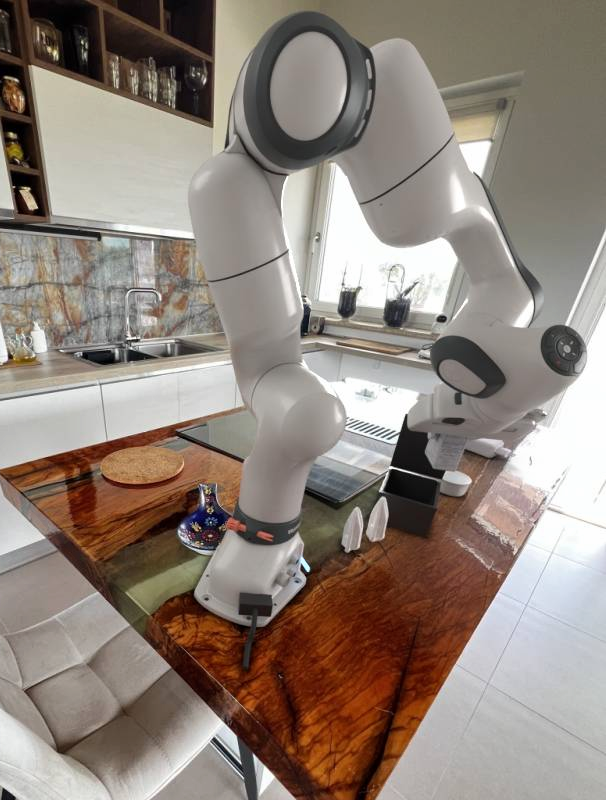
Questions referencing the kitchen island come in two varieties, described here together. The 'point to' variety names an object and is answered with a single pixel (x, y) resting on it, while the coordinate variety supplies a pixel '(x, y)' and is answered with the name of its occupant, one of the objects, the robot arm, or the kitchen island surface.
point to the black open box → (410, 500)
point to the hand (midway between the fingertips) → (446, 437)
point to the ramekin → (454, 483)
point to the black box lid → (413, 453)
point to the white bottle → (488, 448)
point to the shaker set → (374, 526)
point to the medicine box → (446, 451)
